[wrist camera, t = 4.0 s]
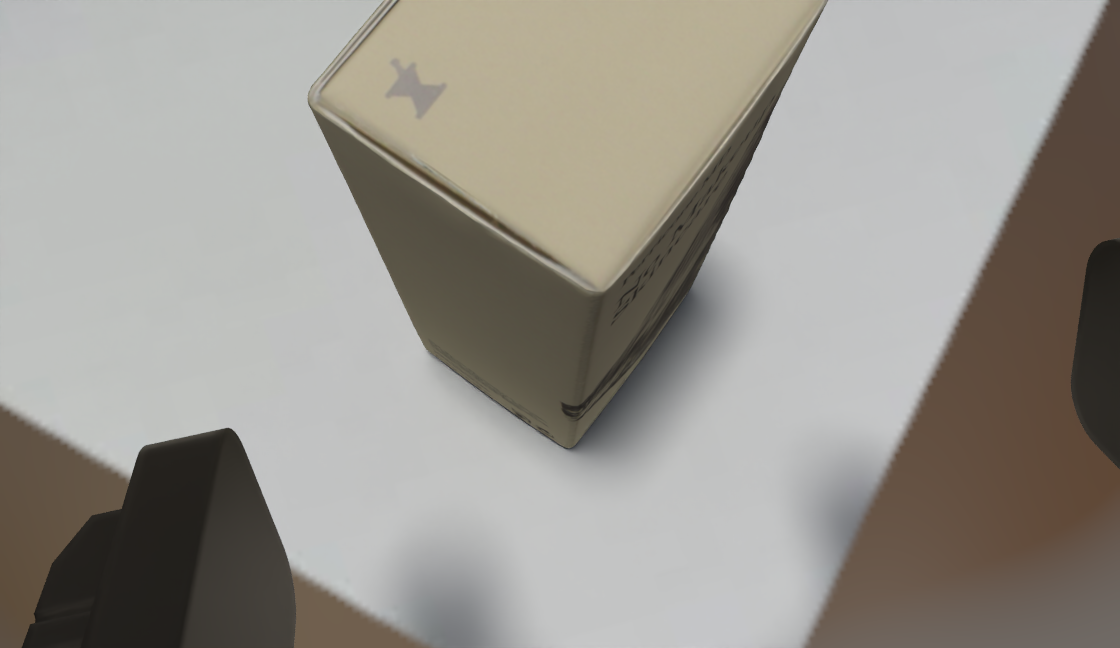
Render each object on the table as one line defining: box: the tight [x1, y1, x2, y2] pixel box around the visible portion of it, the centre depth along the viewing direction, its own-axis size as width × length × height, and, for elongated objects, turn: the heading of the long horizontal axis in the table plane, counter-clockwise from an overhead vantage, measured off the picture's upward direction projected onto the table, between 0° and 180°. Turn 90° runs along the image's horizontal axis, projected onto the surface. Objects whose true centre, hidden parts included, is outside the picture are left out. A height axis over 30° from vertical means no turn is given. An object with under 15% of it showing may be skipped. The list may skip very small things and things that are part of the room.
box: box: [308, 0, 828, 448], centre depth 18 cm, size 5×4×13 cm
